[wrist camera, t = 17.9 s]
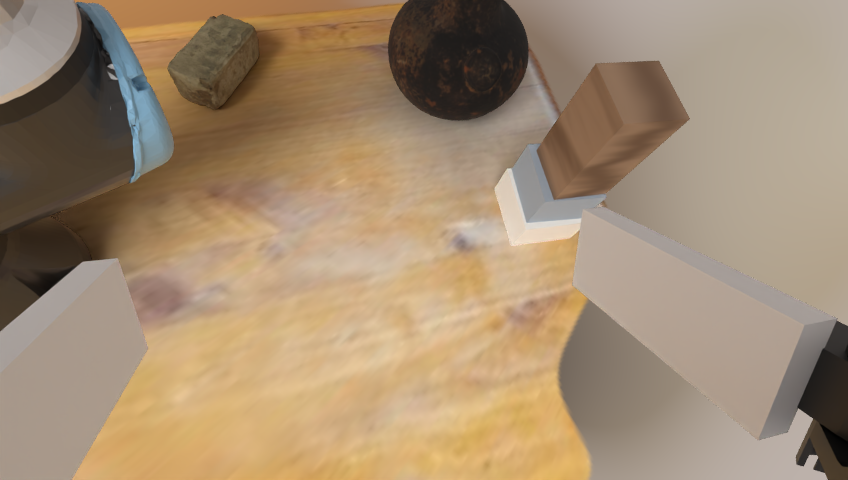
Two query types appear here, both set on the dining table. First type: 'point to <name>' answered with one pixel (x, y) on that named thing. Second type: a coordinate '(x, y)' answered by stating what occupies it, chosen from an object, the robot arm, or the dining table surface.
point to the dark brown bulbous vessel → (457, 55)
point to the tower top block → (545, 192)
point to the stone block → (215, 61)
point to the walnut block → (609, 128)
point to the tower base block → (516, 221)
